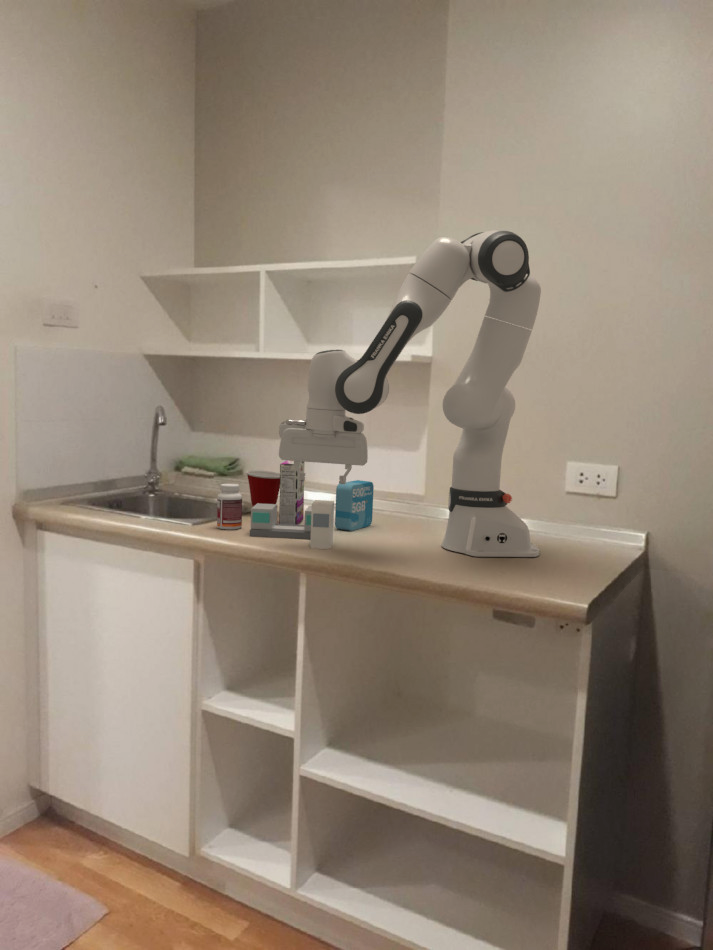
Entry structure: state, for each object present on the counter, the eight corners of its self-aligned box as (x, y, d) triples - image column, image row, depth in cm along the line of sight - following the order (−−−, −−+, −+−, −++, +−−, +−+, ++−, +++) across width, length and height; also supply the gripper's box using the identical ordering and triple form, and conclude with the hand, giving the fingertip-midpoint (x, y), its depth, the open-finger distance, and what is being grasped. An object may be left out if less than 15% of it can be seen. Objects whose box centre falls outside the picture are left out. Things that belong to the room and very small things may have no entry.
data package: (349, 532, 189) (351, 485, 188) (334, 529, 191) (336, 483, 190) (372, 525, 199) (374, 481, 198) (357, 523, 202) (359, 479, 200)
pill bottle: (246, 527, 189) (247, 484, 188) (231, 531, 184) (232, 487, 182) (227, 524, 192) (228, 482, 191) (211, 528, 187) (212, 484, 185)
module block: (332, 542, 175) (334, 500, 174) (329, 549, 168) (331, 505, 167) (313, 541, 175) (315, 499, 174) (310, 548, 168) (311, 504, 167)
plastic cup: (273, 519, 203) (274, 475, 201) (238, 515, 206) (238, 472, 205) (289, 513, 213) (291, 471, 211) (255, 510, 216) (257, 469, 215)
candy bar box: (285, 518, 205) (287, 459, 203) (303, 519, 204) (305, 459, 202) (277, 525, 194) (279, 462, 192) (296, 526, 193) (298, 463, 191)
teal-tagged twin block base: (328, 532, 188) (329, 506, 187) (324, 539, 178) (325, 512, 177) (257, 528, 189) (258, 502, 188) (249, 536, 179) (250, 509, 178)
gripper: (277, 419, 166) (274, 481, 167) (369, 425, 165) (365, 487, 166) (281, 418, 172) (278, 477, 174) (370, 424, 171) (366, 483, 173)
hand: (321, 482), depth 170 cm, fingers open, 8 cm apart
